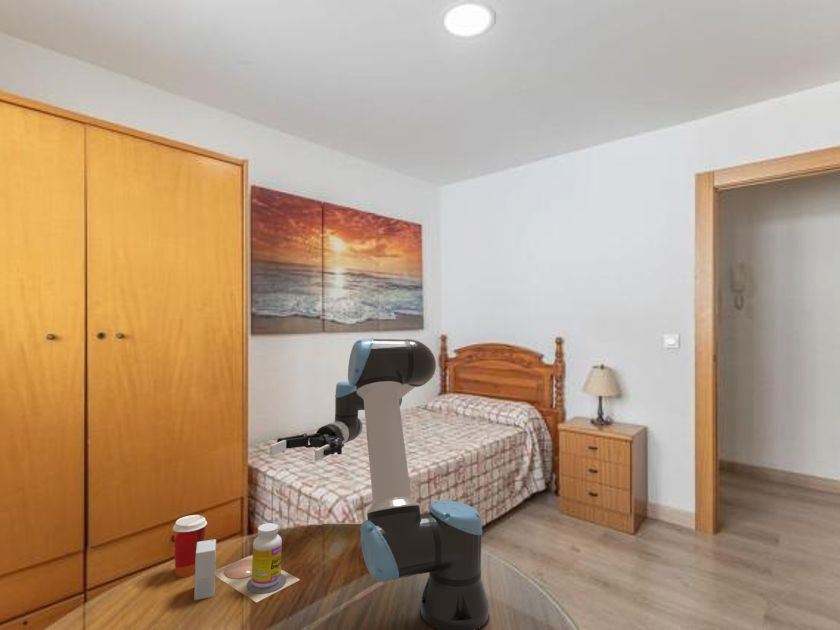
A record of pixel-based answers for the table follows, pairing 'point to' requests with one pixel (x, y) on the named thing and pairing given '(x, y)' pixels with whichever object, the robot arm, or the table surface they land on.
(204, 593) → the skincare box
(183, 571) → the paper cup
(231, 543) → the table surface
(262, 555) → the supplement bottle
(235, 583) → the birch board
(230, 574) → the terracotta pad
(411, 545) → the robot arm
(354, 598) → the table surface
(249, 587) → the slate pad
